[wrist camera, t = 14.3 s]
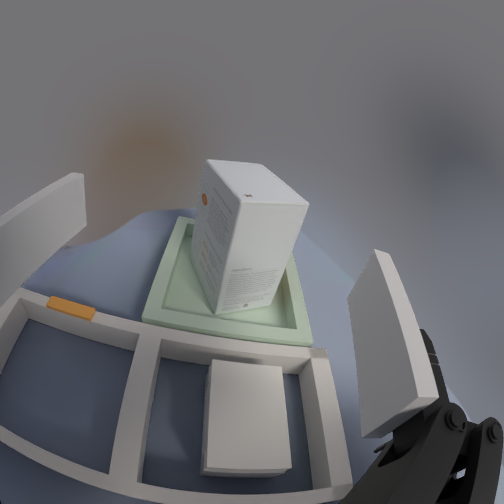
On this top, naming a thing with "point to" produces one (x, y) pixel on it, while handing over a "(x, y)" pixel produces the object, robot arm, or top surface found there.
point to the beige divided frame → (142, 393)
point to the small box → (243, 234)
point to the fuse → (244, 422)
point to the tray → (228, 324)
